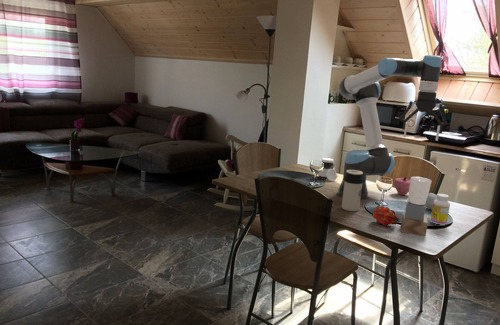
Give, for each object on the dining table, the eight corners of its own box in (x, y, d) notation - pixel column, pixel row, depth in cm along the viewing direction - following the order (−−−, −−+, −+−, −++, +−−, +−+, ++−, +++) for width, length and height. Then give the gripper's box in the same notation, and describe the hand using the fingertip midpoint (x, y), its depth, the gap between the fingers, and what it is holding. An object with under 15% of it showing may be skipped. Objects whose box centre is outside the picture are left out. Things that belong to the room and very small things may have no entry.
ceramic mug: (433, 213, 196) (436, 197, 194) (421, 207, 203) (424, 192, 202) (451, 212, 200) (454, 197, 198) (438, 207, 207) (441, 192, 206)
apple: (414, 195, 224) (417, 177, 222) (404, 197, 219) (407, 179, 217) (399, 191, 231) (401, 173, 229) (389, 192, 227) (391, 175, 224)
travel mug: (338, 208, 195) (342, 170, 191) (347, 205, 200) (351, 168, 196) (353, 213, 189) (357, 174, 185) (362, 209, 195) (366, 172, 191)
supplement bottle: (427, 219, 186) (432, 192, 184) (442, 221, 186) (447, 193, 183) (433, 225, 180) (438, 196, 177) (449, 226, 180) (454, 198, 177)
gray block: (404, 218, 169) (407, 203, 168) (405, 213, 176) (407, 199, 174) (423, 221, 167) (425, 206, 165) (423, 216, 173) (425, 202, 172)
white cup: (406, 203, 167) (411, 179, 165) (405, 198, 175) (410, 175, 173) (427, 207, 165) (432, 182, 163) (426, 202, 172) (430, 178, 170)
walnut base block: (401, 232, 169) (403, 218, 168) (401, 225, 178) (403, 212, 176) (425, 236, 167) (427, 222, 165) (423, 229, 175) (426, 215, 174)
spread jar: (323, 175, 256) (325, 156, 254) (340, 179, 250) (342, 160, 248) (314, 178, 247) (316, 159, 244) (332, 182, 240) (334, 163, 238)
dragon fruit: (370, 222, 183) (395, 235, 175) (364, 215, 177) (389, 228, 169) (381, 206, 184) (405, 218, 176) (375, 198, 178) (400, 210, 170)
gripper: (397, 89, 186) (391, 136, 190) (459, 93, 177) (451, 142, 182) (398, 89, 193) (392, 134, 197) (457, 93, 184) (449, 140, 189)
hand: (420, 138), depth 190 cm, fingers open, 13 cm apart
